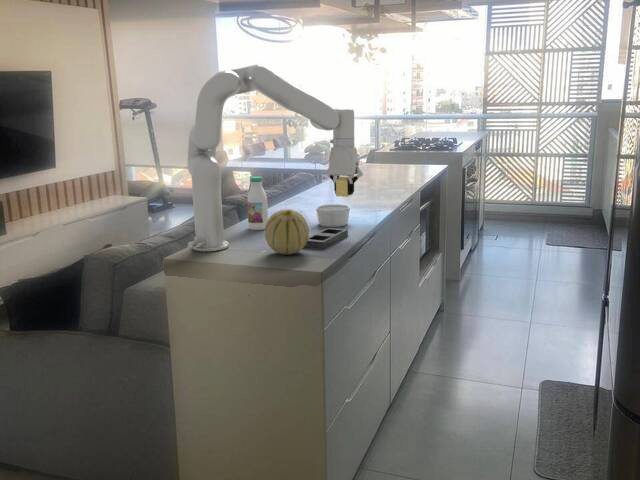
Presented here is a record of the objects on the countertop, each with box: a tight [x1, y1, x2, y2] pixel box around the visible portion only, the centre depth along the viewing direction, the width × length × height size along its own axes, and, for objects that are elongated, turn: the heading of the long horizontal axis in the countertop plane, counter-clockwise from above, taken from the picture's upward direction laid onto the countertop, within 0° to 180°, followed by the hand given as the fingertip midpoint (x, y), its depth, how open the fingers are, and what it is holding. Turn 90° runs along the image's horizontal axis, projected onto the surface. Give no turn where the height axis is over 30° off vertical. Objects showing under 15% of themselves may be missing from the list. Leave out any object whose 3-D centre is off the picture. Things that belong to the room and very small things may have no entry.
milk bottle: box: [246, 176, 269, 231], centre depth 237 cm, size 8×8×20 cm
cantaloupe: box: [264, 208, 310, 255], centre depth 201 cm, size 15×15×15 cm
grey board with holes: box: [303, 227, 349, 250], centre depth 216 cm, size 20×8×2 cm, turn 153°
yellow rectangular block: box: [335, 175, 353, 198], centre depth 223 cm, size 4×4×7 cm
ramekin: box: [316, 203, 351, 228], centre depth 242 cm, size 13×13×7 cm
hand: (344, 193), depth 224 cm, fingers closed on yellow rectangular block, 4 cm apart
